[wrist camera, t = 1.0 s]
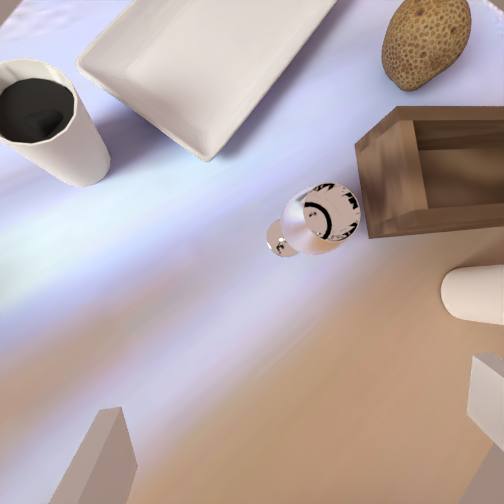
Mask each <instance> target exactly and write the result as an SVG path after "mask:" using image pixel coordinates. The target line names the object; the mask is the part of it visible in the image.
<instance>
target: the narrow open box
mask: <svg viewBox="0 0 504 504" xmlns="http://www.w3.org/2000/svg"><path fill="white" fill-rule="evenodd" d="M355 151H356V157H357V164H358V171H359V177H360V184H361V190H362V197H363V203H364V210H365V216H366V223H367V229H368V236H369V239H372V238H382V237H393V236H404V235H415V234H425V233H436V232H447V231H457V230H468V229H479V228H490V227H500V226H504V106H396V107H395V108H394V109H393V110H392V111H391V112H390V113H389V114H388V115H387V116H385V117H384V118H383V119H382V120H381V121H380V122H379V123H378V124H377V125H375V126H374V127H373V128H372V129H371V130H370V131H369V132H368V133H367V134H366V135H364V136H363V137H362V138H361V139H360V140H359V141H358V142H357V143H356V144H355Z"/></svg>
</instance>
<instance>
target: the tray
mask: <svg viewBox="0 0 504 504" xmlns="http://www.w3.org/2000/svg"><path fill="white" fill-rule="evenodd" d="M337 1H338V0H134V1H133V2H132V3H131V4H130V5H129V6H128V7H127V8H126V9H124V10H123V11H122V12H121V13H120V14H119V15H118V16H117V17H116V18H115V19H114V20H113V21H112V22H111V23H110V25H109V26H108V27H107V28H106V29H105V30H104V31H103V32H102V33H101V34H100V35H98V36H97V37H96V38H95V39H94V40H93V41H92V42H91V43H90V44H89V45H88V47H87V48H86V49H85V50H84V51H83V52H82V53H81V54H80V55H79V57H78V58H77V60H76V68H77V69H78V71H79V72H80V73H81V74H82V75H83V76H85V77H86V78H87V79H89V80H90V81H91V82H93V83H94V84H96V85H97V86H99V87H100V88H101V89H103V90H104V91H106V92H107V93H109V94H110V95H112V96H113V97H115V98H116V99H118V100H119V101H121V102H122V103H124V104H125V105H126V106H128V107H129V108H131V109H132V110H133V111H135V112H136V113H138V114H139V115H140V116H142V117H143V118H145V119H146V120H147V121H149V122H150V123H151V124H153V125H154V126H155V127H157V128H158V129H159V130H160V131H162V132H163V133H164V134H166V135H167V136H168V137H170V138H171V139H172V140H174V141H175V142H176V143H178V144H179V145H180V146H182V147H183V148H184V149H186V150H187V151H188V152H190V153H191V154H193V155H194V156H196V157H197V158H198V159H200V160H202V161H204V162H210V161H211V160H212V159H213V158H214V157H215V156H216V155H217V154H218V153H219V152H220V150H221V149H222V148H223V147H224V146H225V145H226V143H227V142H228V141H229V140H230V139H231V137H232V136H233V135H234V133H235V132H236V131H237V130H238V128H239V127H240V126H241V124H242V123H243V122H244V121H245V120H246V118H247V117H248V116H249V115H250V113H251V112H252V111H253V109H254V108H255V107H256V106H257V104H258V103H259V102H260V101H261V99H262V98H263V97H264V96H265V94H266V93H267V92H268V91H269V89H270V88H271V87H272V86H273V84H274V83H275V82H276V81H277V79H278V78H279V77H280V76H281V74H282V73H283V72H284V71H285V69H286V68H287V67H288V65H289V64H290V63H291V61H292V60H293V59H294V57H295V56H296V55H297V53H298V52H299V51H300V50H301V48H302V47H303V46H304V44H305V43H306V42H307V40H308V39H309V38H310V37H311V35H312V34H313V33H314V31H315V30H316V29H317V27H318V26H319V25H320V23H321V22H322V21H323V19H324V18H325V17H326V15H327V14H328V13H329V11H330V10H331V9H332V8H333V6H334V5H335V4H336V2H337Z"/></svg>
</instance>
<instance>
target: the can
mask: <svg viewBox="0 0 504 504" xmlns="http://www.w3.org/2000/svg"><path fill="white" fill-rule="evenodd" d="M440 294H441V299H442V302H443V304H444V306H445V308H446V309H447V310H448V312H449V313H450V314H452V315H453V316H454V317H456V318H459V319H462V320H469V321H477V322H484V323H492V324H500V325H504V265H489V266H476V267H463V268H457V269H454V270H452V271H450V272H449V273H448V274H447V275H446V276H445V278H444V279H443V281H442V284H441V289H440Z"/></svg>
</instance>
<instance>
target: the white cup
mask: <svg viewBox="0 0 504 504" xmlns="http://www.w3.org/2000/svg"><path fill="white" fill-rule="evenodd" d="M0 141H2V142H3V143H5V144H6V145H8V146H9V147H11V148H12V149H14V150H15V151H17V152H18V153H20V154H21V155H23V156H24V157H26V158H28V159H29V160H31V161H32V162H34V163H35V164H37V165H38V166H40V167H41V168H43V169H44V170H46V171H47V172H49V173H50V174H52V175H53V176H55V177H56V178H58V179H60V180H61V181H63V182H65V183H67V184H69V185H71V186H77V187H87V186H90V185H94V184H96V183H98V182H99V181H100V180H102V179H103V178H104V177H105V176H106V174H107V172H108V171H109V169H110V161H111V157H110V155H109V152H108V149H107V147H106V145H105V143H104V142H103V140H102V138H101V136H100V134H99V132H98V130H97V129H96V127H95V125H94V123H93V121H92V119H91V117H90V116H89V114H88V112H87V110H86V108H85V106H84V105H83V103H82V101H81V99H80V97H79V95H78V93H77V92H76V90H75V88H74V86H73V84H72V83H71V82H70V80H69V79H68V78H67V77H66V76H65V75H64V74H63V73H62V72H61V71H60V70H59V69H57V68H55V67H53V66H51V65H49V64H47V63H45V62H43V61H40V60H33V59H27V58H18V59H13V60H7V61H2V62H0Z"/></svg>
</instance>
